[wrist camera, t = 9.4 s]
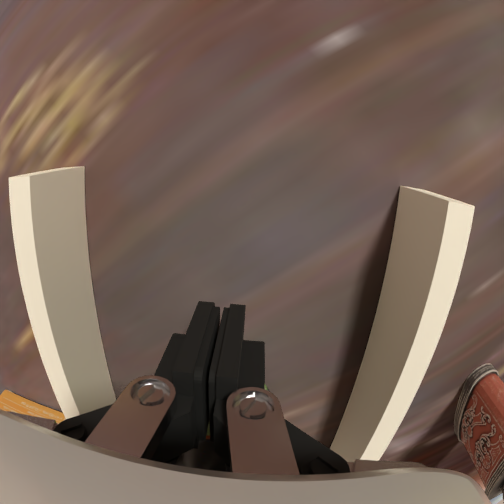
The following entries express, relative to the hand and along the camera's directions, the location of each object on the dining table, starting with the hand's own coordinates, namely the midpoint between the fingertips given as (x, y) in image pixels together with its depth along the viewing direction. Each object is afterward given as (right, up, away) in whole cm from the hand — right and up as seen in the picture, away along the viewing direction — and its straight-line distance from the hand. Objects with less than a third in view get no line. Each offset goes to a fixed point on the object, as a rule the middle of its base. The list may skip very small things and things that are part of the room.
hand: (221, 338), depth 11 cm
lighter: (+18, -8, +6) cm, 20 cm away
